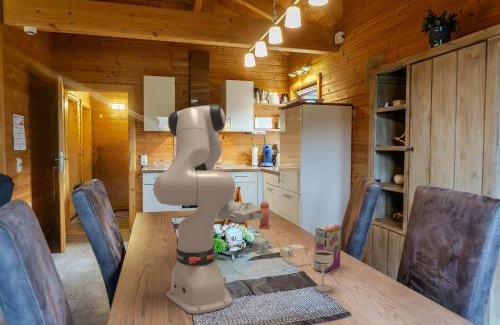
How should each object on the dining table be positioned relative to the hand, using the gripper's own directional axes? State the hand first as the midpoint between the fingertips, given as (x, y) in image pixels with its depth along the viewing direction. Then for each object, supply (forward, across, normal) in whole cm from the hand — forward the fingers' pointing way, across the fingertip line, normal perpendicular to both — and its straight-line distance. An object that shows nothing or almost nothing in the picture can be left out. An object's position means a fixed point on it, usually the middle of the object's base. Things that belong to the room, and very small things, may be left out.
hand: (266, 215), depth 144 cm
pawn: (-1, 0, +6) cm, 6 cm away
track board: (+2, +6, +17) cm, 18 cm away
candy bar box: (+28, 0, +18) cm, 33 cm away
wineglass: (+33, -19, +18) cm, 42 cm away
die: (+9, +2, +18) cm, 20 cm away
